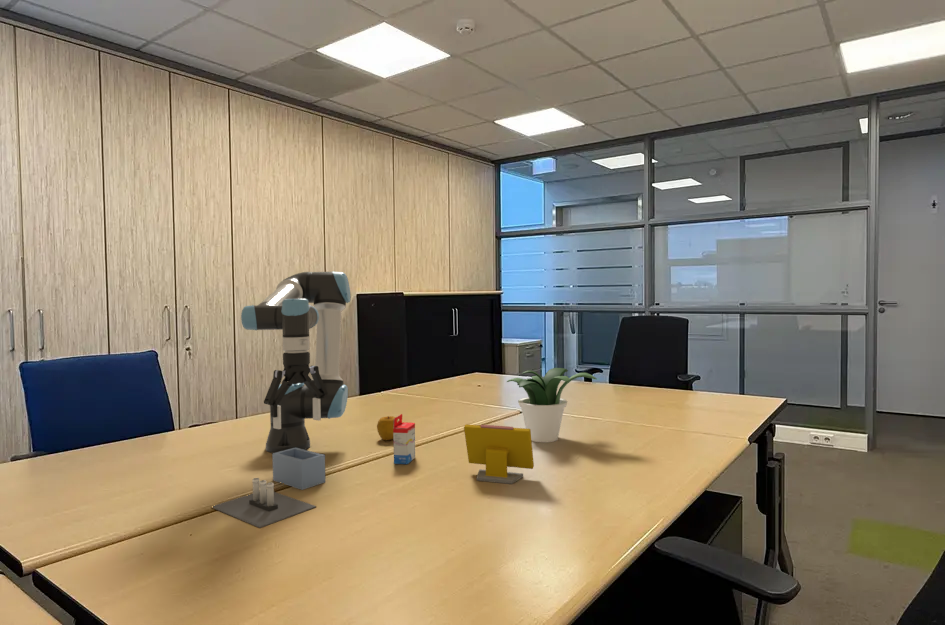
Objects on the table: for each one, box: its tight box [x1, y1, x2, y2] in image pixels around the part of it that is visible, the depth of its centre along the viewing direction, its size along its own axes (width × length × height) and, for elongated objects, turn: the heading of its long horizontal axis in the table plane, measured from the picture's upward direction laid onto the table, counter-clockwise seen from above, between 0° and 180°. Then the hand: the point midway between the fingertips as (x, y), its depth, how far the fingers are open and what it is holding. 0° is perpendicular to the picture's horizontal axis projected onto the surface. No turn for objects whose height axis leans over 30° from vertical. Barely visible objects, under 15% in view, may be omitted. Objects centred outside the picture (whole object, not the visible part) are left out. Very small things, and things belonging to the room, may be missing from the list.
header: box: [212, 477, 317, 529], centre depth 146 cm, size 22×16×7 cm
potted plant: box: [506, 367, 597, 443], centre depth 212 cm, size 32×35×26 cm
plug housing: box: [271, 447, 326, 491], centre depth 166 cm, size 14×8×8 cm, turn 53°
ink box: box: [392, 413, 416, 465], centre depth 186 cm, size 8×5×15 cm, turn 168°
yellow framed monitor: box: [463, 423, 535, 485], centre depth 167 cm, size 20×8×16 cm, turn 71°
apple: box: [376, 415, 399, 441], centre depth 213 cm, size 8×8×9 cm
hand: (297, 424), depth 166 cm, fingers open, 13 cm apart
